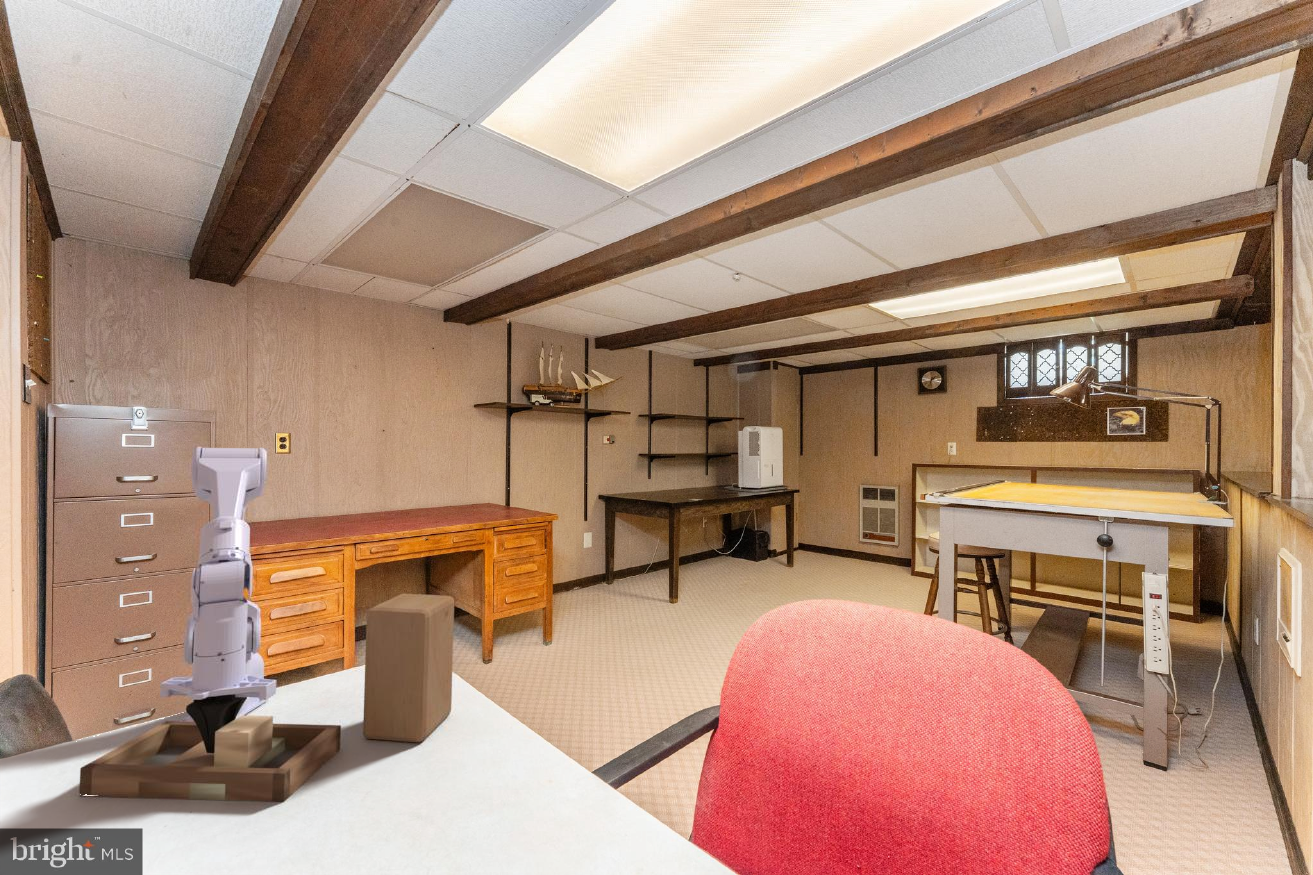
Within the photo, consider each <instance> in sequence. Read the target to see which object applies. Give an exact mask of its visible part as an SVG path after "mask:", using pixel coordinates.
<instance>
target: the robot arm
mask: <svg viewBox="0 0 1313 875" xmlns="http://www.w3.org/2000/svg"><path fill="white" fill-rule="evenodd" d="M267 453H268V451H267V449H265V448H264V447H259V448H257V447H256V448H253V447H252V448H251V447H249V448H247V447H244V448H243V447H202V446H197V447H196V448H194V449H193V450H192V454H191V465H190V468H191V469H190V472H191V474H190V475H191V476H190V478H191V480H190V481H191V482H192V488H193V490H192V491H193V493H195V498H197V499H199V500H202V501H205V502H207V503H208V504H209V506H210V508H211V514H212V515H211V517H212V520H210V521H209V522H207V523H206V524H204V525H203V527H202V528H201V531H200V538H199V539H200V540H199V541H200V542H199V547H198V548H199V549H198V560H197V568H196V567H193V570H192V573H191V582H190V599H191V600H190V601H191V606H192V612H191V613H189V615H188V616H189V617H188V618H186V627H185V630H184V640H183V642H184V644H183V662H184V663H186V664H187V665H188V666H189V665H192V674H191V675H192V676H184V677H183V676H182V677H177V676H175V677H172V678H169V679H168V680H165V681H163V682H161V683H160V691H159V692H160V694H159V697H160V698H164V699H165V698H170V697H171V696H179V697H180V696H182V697H185V696H186V697H187V699H188V700H193V701H192V702H191V703H189V704H188V705H186V708H185V712H186V713H187V714H188V716H185V717H184V718H183V719H181V720H180V721H189V722H195V723H196V725H197V727H198V729H199V731H200V733H201V736H202V739H203V742H204V745H205V749H206V752H207V753H215V732H216V731H217V730H219V729H221V728H222V727H224V726H225V725H227V724H229V723H230V722H232V721H233V720H235V719H236V718H238V717H240V716H241V715H247V714H248V713H250V712H252V711H253V710H255V709H256V708H258V707H259V706H261V705H262V704H264V703H266V702H268V700H269V699H270V698H271V697H273V696H274V695H276V694H277V679H267V678H264V677H265V663H264V662H265V661H264V659H263V657H262V656H261V654H260V653H258V652H259V651H260V649H261V639H262V638H261V634H262V618H261V608H259V605H258V604H257V603H254V602H252V601H250V600H251V597H252V594H253V574H254V571H253V570H254V566H253V562H252V558H251V557H252V556H251V553H250V547H251V543H250V540H251V528H250V525H249V524H248V523H247V522H246V521H245V511H246V509H247V507H248V506H249V503H250V501H251V500H253V499H256V498H259V497H262V495H263V492H264V490H265V483H266V480H267V463H268V462H267V460H268V459H267V457H268V454H267ZM245 589H246V590H247V591H248V599H247V598H246V597H245V596H244V590H245ZM247 697H249V698H247Z"/></svg>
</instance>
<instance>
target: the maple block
mask: <svg viewBox="0 0 1313 875" xmlns="http://www.w3.org/2000/svg"><path fill="white" fill-rule="evenodd" d="M273 722H274V716H272V715H247V714H245V715H241V716H240V717H238V718H236V719H235V720H233V721H232V722H230V723H229V724H227V725H225V726H224V727H222V728H221V729H219V730H217V731H216V732H215V753H214V766H227V767H248V766H250V765H251V764H252V763H254V762H255V761H256V760H257V759H259V758H260V757H261V756H263V755H264V754H265V753H267V752H268V751H269V750H271V749H272V730H273V724H274V723H273Z"/></svg>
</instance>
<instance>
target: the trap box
mask: <svg viewBox="0 0 1313 875" xmlns="http://www.w3.org/2000/svg"><path fill="white" fill-rule="evenodd" d="M341 726H342V725H340V724H339V725H338V724H337V725H336V724H304V723H303V724H302V723H299V724H298V723H297V724H296V723H273V730H272V749H271V750H269V751H268V752H267V753H265V754H264V755H263V756H261V757H260V758H259V759H257V760H256V761H255V762H254V763H252V764H251V765H250V766H248V767H227V766H214V753H207V752H206V749H205V745H204V742H203V739H202V736H201V733H200V731H199V729H198V727H197V725H196V723H195V722H189V721H181V720H179V721H178V720H166V721H164V722H162V723H160V724H158V725H156V726H155V727H153V728H151V729H149V730H147V731H145V732H143V733H142V734H140V735H138V736H137V737H134V738H133V739H131V740H129V741H127V742H126V743H124V744H122V745H120V746H118V747H116V748H114V749H113V750H111V751H109V752H107V753H106V754H104V755H101V756H100V757H98V758H96V759H95V760H93V761H91V762H89V763H87V764H85V765H83V766H82V767H80V768H79V769H80V770H79V791H78V792H79V794H81V795H85V794H87V795H98V796H102V797H101V798H125V799H126V798H130V799H131V798H132V799H163V800H164V799H165V800H166V799H170V800H171V799H172V800H174V799H175V800H208V801H212V800H213V801H238V802H240V801H243V802H248V801H249V802H275V803H276V802H278V803H279V802H281V803H283V802H284V803H285V801H286V800H288V799H289V798H290V797H291V795H293V793H295V792H296V791H297V790H298V789H300V787H301V786H303V785H304V784H305V782H307V781H308V780H309V779H310V778H311V777H313V775H314V774H315V773H316V772H317V771H318V770H320V769H321V768H322V767H323V766H324V765H325V764H326V763H327V762H328V761H330V759H331V758H332V757H333V756H335V755H336V754H337V753H338V752H339V751H340V750H341V733H342V732H341V730H342V727H341ZM79 794H78V795H79ZM104 796H105V797H104Z"/></svg>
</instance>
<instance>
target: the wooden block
mask: <svg viewBox="0 0 1313 875" xmlns="http://www.w3.org/2000/svg"><path fill="white" fill-rule="evenodd" d="M454 617H455V599H454V597H453V596H450V595H439V594H438V595H437V594H420V593H419V594H418V593H417V594H416V593H401V594H399V595H396V596H394V597H392V598H390V599H388V600H386V601H384V602H382V603H381V602H380V603H379V604H377V605H374V606H373V607H370V608H369V609H368V611H367V613H366V624H365V625H366V628H365V630H366V631H365V660H364V661H365V662H364V664H365V666H364V692H363V693H364V694H363V695H364V696H363V720H362V721H363V722H362V725H363V726H362V727H363V728H362V731H363V732H362V734H363V737H364V738H366V739H368V740H369V739H370V740H371V739H372V740H383V741H393V742H394V741H397V742H408V743H409V742H410V743H420V742H423V741H425V740H426V739H427V738H428V737H429V736H430V735H431V734H432V733H433V732H434V731H435V730H436V729H437V728H439V726H440V725H441V724H442V722H444V721H445V720H446V719H447V718H448V717H449V716H450V713H451V712H452V696H453V694H452V693H453V691H452V690H453V662H454V661H453V658H454V656H453V655H454V654H453V653H454V628H455V627H454V626H455V625H454V621H455V618H454Z"/></svg>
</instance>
